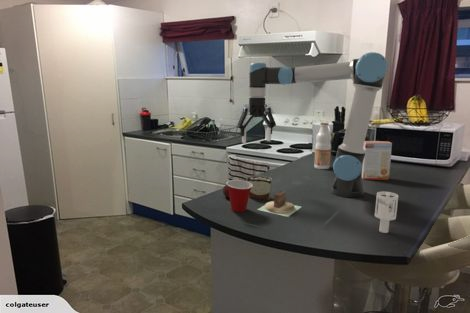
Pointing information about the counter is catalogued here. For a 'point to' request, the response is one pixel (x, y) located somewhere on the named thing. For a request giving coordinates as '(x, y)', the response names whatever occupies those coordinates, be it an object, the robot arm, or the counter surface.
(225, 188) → the potato
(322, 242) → the counter surface
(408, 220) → the counter surface
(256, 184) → the food container
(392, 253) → the counter surface
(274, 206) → the lid
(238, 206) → the plastic cup
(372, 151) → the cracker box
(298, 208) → the mat
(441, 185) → the counter surface
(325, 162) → the fruit juice
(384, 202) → the white stepped cylinder
